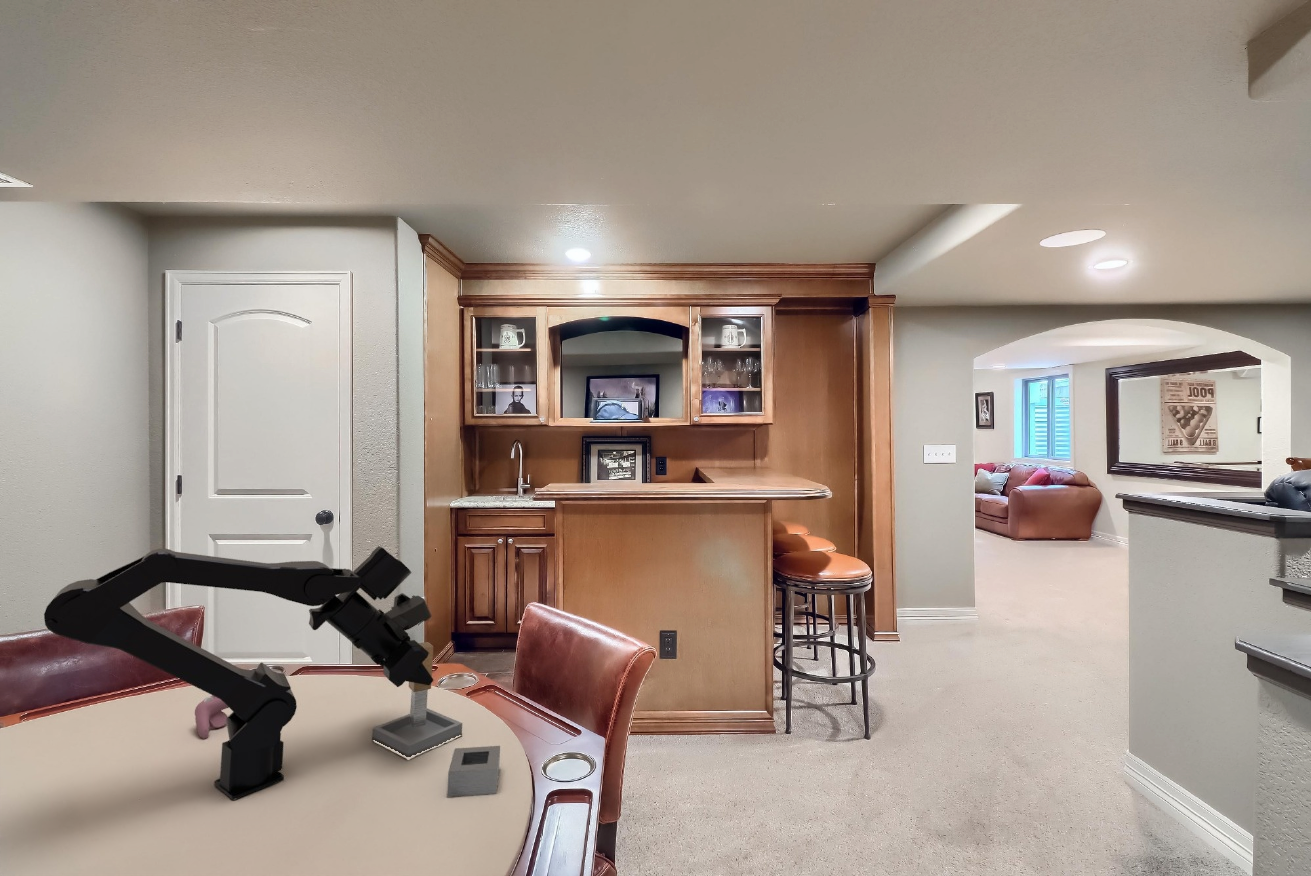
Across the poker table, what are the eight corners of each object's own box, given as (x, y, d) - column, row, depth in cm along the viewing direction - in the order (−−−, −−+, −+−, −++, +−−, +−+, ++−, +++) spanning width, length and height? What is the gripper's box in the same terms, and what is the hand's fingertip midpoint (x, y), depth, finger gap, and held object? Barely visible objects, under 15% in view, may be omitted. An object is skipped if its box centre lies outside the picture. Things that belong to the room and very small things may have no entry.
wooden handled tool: (428, 725, 97) (433, 646, 98) (411, 729, 95) (416, 648, 96) (423, 719, 99) (428, 641, 100) (406, 723, 98) (411, 644, 98)
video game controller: (261, 724, 104) (257, 683, 106) (270, 719, 102) (266, 678, 104) (192, 743, 96) (190, 699, 99) (200, 739, 94) (197, 694, 96)
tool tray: (408, 760, 90) (409, 745, 90) (371, 741, 96) (372, 727, 96) (461, 736, 99) (462, 723, 99) (425, 720, 104) (425, 707, 104)
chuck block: (496, 793, 82) (497, 768, 82) (447, 797, 81) (448, 771, 81) (499, 768, 89) (500, 745, 89) (453, 772, 87) (454, 748, 88)
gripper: (418, 593, 89) (484, 655, 95) (386, 572, 103) (445, 627, 110) (358, 655, 83) (432, 715, 90) (333, 624, 98) (398, 678, 104)
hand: (428, 679), depth 98 cm, fingers closed on wooden handled tool, 3 cm apart
